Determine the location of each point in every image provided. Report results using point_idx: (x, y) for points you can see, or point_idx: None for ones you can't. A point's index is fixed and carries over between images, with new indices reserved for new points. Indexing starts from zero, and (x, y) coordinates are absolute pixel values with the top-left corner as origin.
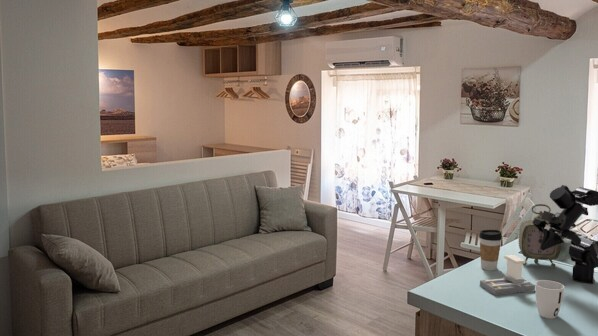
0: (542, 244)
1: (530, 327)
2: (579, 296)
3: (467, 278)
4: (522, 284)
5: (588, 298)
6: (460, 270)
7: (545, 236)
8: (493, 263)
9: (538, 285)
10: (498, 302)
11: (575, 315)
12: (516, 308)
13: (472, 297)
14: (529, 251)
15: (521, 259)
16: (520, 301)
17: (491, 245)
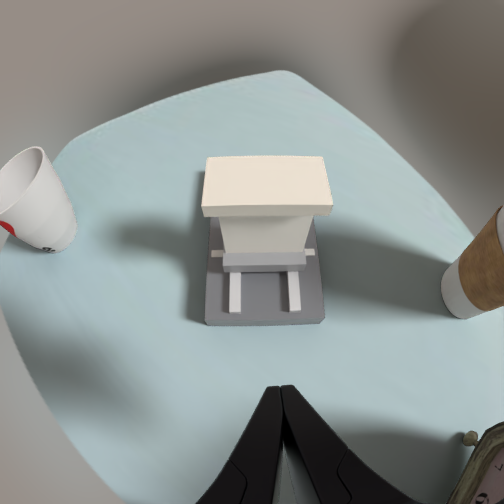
0: (293, 415)
1: (55, 169)
2: (114, 446)
3: (366, 175)
4: (229, 273)
5: (94, 456)
6: (430, 193)
7: (347, 498)
8: (455, 281)
9: (48, 173)
10: (170, 162)
11: (29, 300)
12: (121, 184)
13: (224, 127)
14: (498, 456)
15: (228, 196)
16: (149, 217)
17: (498, 225)
